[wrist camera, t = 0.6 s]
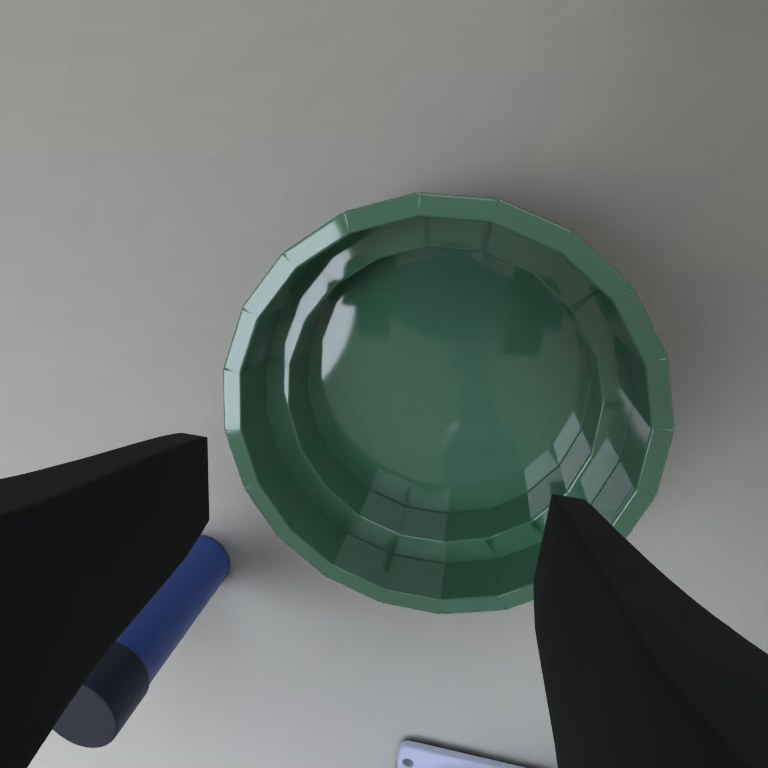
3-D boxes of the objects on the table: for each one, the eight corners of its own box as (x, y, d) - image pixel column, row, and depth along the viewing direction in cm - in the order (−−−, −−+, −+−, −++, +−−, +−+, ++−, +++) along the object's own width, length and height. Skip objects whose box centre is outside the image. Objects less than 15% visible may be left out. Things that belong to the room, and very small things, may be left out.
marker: (232, 589, 25) (120, 756, 17) (177, 578, 25) (44, 737, 18) (232, 538, 24) (112, 692, 16) (174, 528, 25) (32, 672, 17)
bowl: (589, 561, 21) (614, 648, 17) (274, 507, 23) (227, 573, 19) (672, 214, 17) (734, 216, 13) (278, 183, 19) (218, 176, 15)
